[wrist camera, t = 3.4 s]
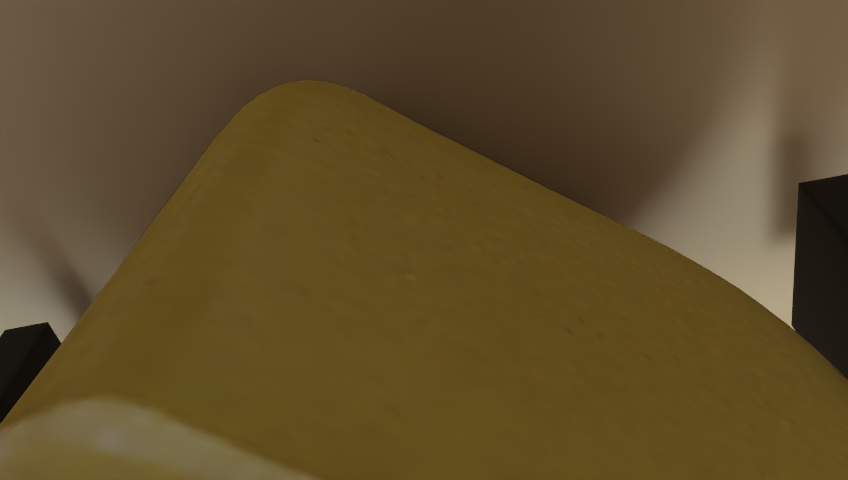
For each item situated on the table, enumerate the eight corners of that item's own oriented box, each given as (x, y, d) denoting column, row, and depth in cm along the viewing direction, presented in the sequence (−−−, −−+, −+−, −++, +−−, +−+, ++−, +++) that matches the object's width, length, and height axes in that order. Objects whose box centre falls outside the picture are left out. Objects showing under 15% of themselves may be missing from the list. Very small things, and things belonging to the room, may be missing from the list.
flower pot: (781, 187, 13) (1274, 831, 6) (499, 492, 17) (562, 1090, 10) (290, -88, 11) (-13, 398, 3) (101, 345, 15) (-221, 993, 7)
